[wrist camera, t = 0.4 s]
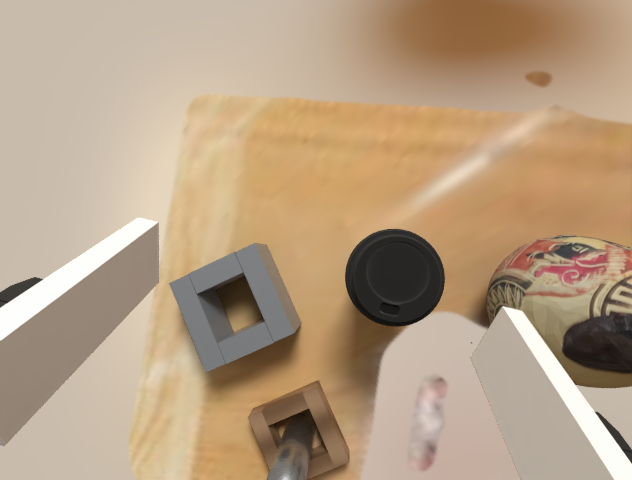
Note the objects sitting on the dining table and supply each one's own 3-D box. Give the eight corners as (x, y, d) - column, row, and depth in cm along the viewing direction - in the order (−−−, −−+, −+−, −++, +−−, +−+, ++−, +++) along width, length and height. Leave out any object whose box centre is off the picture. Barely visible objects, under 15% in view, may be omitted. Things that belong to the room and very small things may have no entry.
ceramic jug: (549, 217, 43) (1003, 131, 13) (614, 323, 42) (1286, 491, 12) (433, 278, 44) (614, 324, 14) (493, 383, 43) (831, 677, 13)
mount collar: (349, 450, 44) (349, 462, 41) (282, 478, 45) (278, 491, 42) (318, 380, 45) (316, 387, 42) (253, 408, 45) (247, 417, 43)
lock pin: (322, 438, 44) (310, 530, 29) (292, 451, 45) (264, 549, 30) (308, 406, 45) (289, 481, 30) (278, 419, 45) (244, 500, 30)
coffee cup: (355, 313, 45) (360, 341, 30) (338, 246, 45) (333, 241, 31) (424, 296, 44) (463, 317, 29) (405, 229, 45) (434, 215, 30)
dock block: (301, 323, 45) (294, 333, 39) (224, 358, 46) (205, 373, 40) (266, 244, 46) (254, 242, 41) (191, 279, 47) (169, 282, 41)
